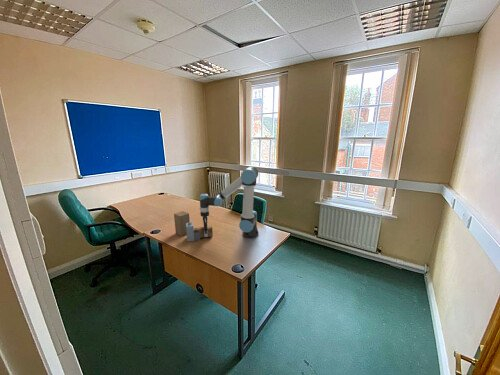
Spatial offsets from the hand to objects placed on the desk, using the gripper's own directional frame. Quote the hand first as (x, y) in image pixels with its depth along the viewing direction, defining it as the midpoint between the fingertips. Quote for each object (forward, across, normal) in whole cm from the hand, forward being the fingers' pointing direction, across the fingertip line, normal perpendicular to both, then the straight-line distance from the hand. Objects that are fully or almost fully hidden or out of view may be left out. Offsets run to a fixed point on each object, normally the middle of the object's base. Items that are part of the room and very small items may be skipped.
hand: (205, 235), depth 189 cm
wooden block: (+2, -14, -20) cm, 25 cm away
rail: (+1, 0, -2) cm, 2 cm away
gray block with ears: (+2, 0, -10) cm, 11 cm away
